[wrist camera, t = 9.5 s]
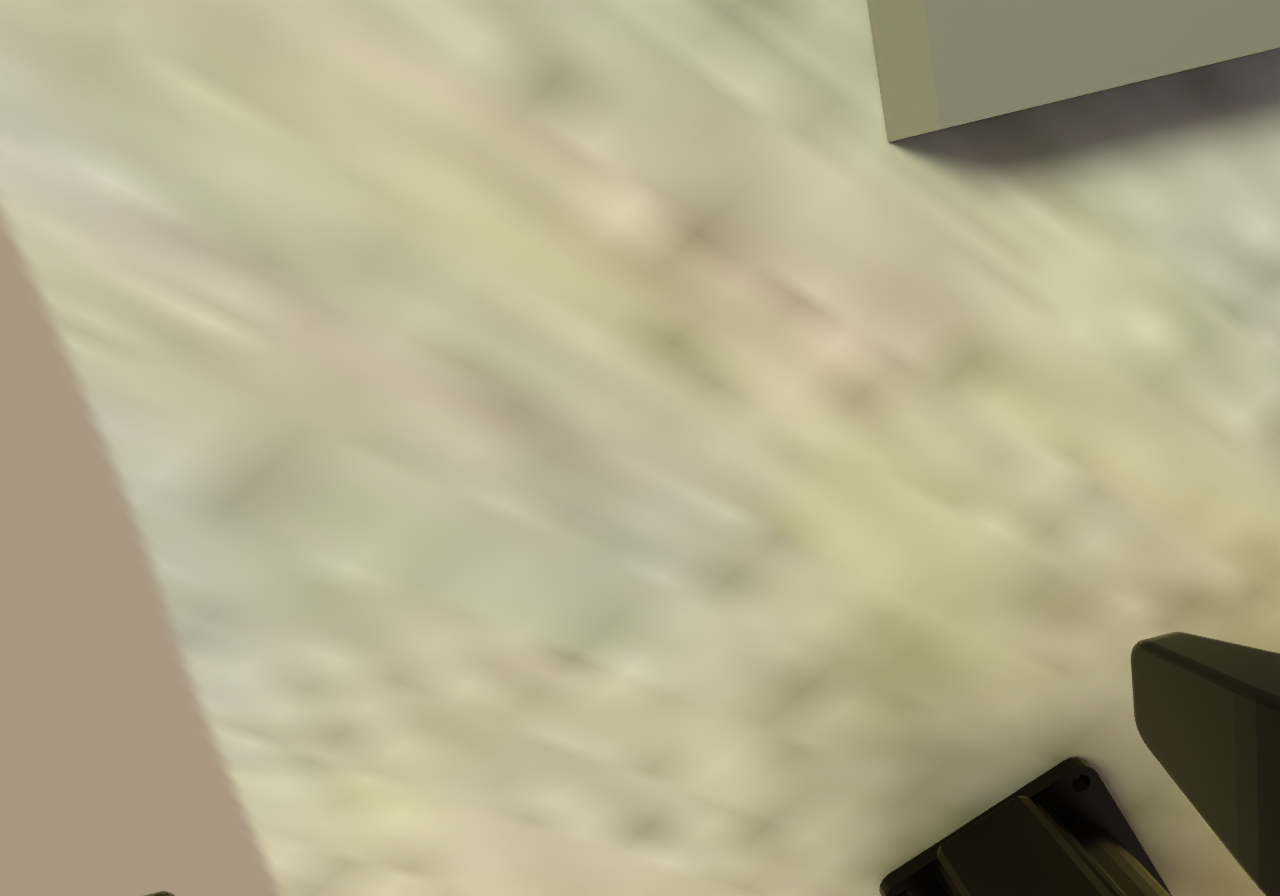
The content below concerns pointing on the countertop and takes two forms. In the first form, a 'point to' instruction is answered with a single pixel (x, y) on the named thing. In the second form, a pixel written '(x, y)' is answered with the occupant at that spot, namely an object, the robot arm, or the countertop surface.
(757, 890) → the countertop surface
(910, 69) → the socket board
